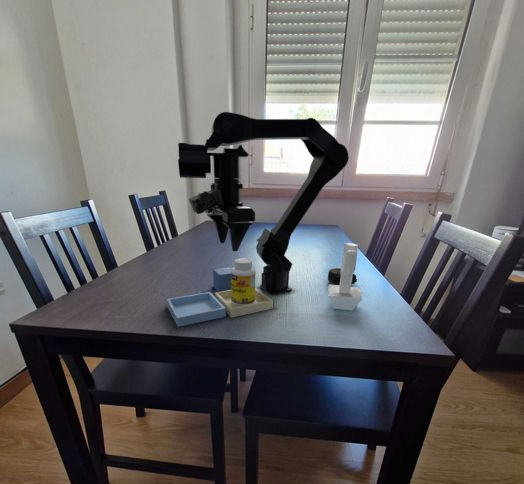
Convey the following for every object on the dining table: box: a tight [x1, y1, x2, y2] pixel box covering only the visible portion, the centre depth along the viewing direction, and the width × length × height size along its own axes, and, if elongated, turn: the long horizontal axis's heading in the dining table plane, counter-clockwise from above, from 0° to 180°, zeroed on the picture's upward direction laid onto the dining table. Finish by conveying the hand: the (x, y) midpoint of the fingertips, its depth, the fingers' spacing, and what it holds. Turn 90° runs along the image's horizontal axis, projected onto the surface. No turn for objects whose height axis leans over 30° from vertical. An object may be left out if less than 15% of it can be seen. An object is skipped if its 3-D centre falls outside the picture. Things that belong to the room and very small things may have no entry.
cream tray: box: [214, 287, 274, 319], centre depth 66 cm, size 10×10×2 cm
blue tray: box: [166, 291, 227, 328], centre depth 62 cm, size 10×10×2 cm
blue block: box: [212, 266, 233, 292], centre depth 74 cm, size 5×5×5 cm
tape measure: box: [327, 267, 358, 286], centre depth 80 cm, size 7×7×4 cm
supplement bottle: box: [231, 257, 256, 306], centre depth 64 cm, size 6×6×10 cm
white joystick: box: [328, 242, 363, 311], centre depth 64 cm, size 7×9×15 cm
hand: (228, 246), depth 69 cm, fingers open, 9 cm apart
